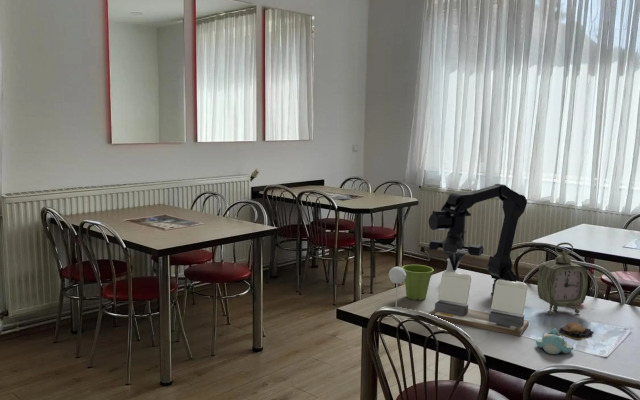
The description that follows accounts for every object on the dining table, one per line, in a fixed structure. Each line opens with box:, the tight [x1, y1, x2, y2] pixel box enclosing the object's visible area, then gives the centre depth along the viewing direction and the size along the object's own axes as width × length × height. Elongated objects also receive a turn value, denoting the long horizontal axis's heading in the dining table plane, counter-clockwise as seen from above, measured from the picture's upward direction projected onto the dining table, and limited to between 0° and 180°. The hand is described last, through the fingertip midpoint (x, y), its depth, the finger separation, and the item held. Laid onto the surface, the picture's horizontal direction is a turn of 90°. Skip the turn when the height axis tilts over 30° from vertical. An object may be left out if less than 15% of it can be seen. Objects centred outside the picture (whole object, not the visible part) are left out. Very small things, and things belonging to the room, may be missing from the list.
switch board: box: [428, 300, 529, 337], centre depth 193 cm, size 12×30×4 cm, turn 59°
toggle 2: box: [490, 280, 528, 315], centre depth 189 cm, size 2×10×10 cm, turn 59°
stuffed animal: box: [534, 328, 574, 355], centre depth 171 cm, size 11×7×12 cm
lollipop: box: [388, 266, 406, 308], centre depth 204 cm, size 6×6×15 cm
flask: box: [445, 258, 457, 273], centre depth 237 cm, size 7×7×10 cm
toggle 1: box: [437, 270, 472, 305], centre depth 199 cm, size 2×10×10 cm, turn 59°
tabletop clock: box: [537, 242, 589, 316], centre depth 202 cm, size 14×9×25 cm, turn 102°
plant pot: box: [401, 264, 434, 301], centre depth 217 cm, size 12×12×11 cm
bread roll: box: [558, 322, 595, 341], centre depth 184 cm, size 11×8×4 cm
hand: (454, 270), depth 211 cm, fingers closed
